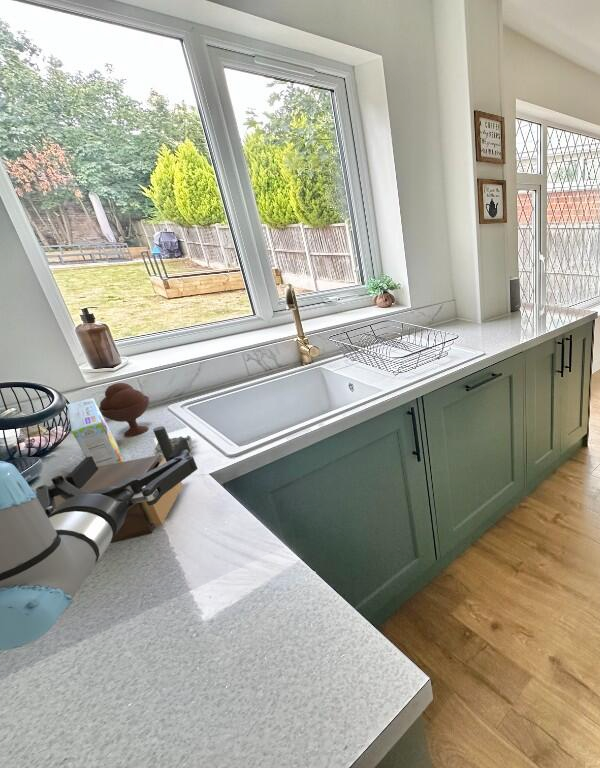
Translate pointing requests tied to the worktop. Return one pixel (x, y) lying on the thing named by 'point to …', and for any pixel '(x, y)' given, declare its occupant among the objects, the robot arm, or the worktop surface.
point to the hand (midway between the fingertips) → (140, 454)
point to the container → (164, 504)
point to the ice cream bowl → (125, 406)
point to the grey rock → (174, 443)
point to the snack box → (93, 433)
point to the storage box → (117, 474)
